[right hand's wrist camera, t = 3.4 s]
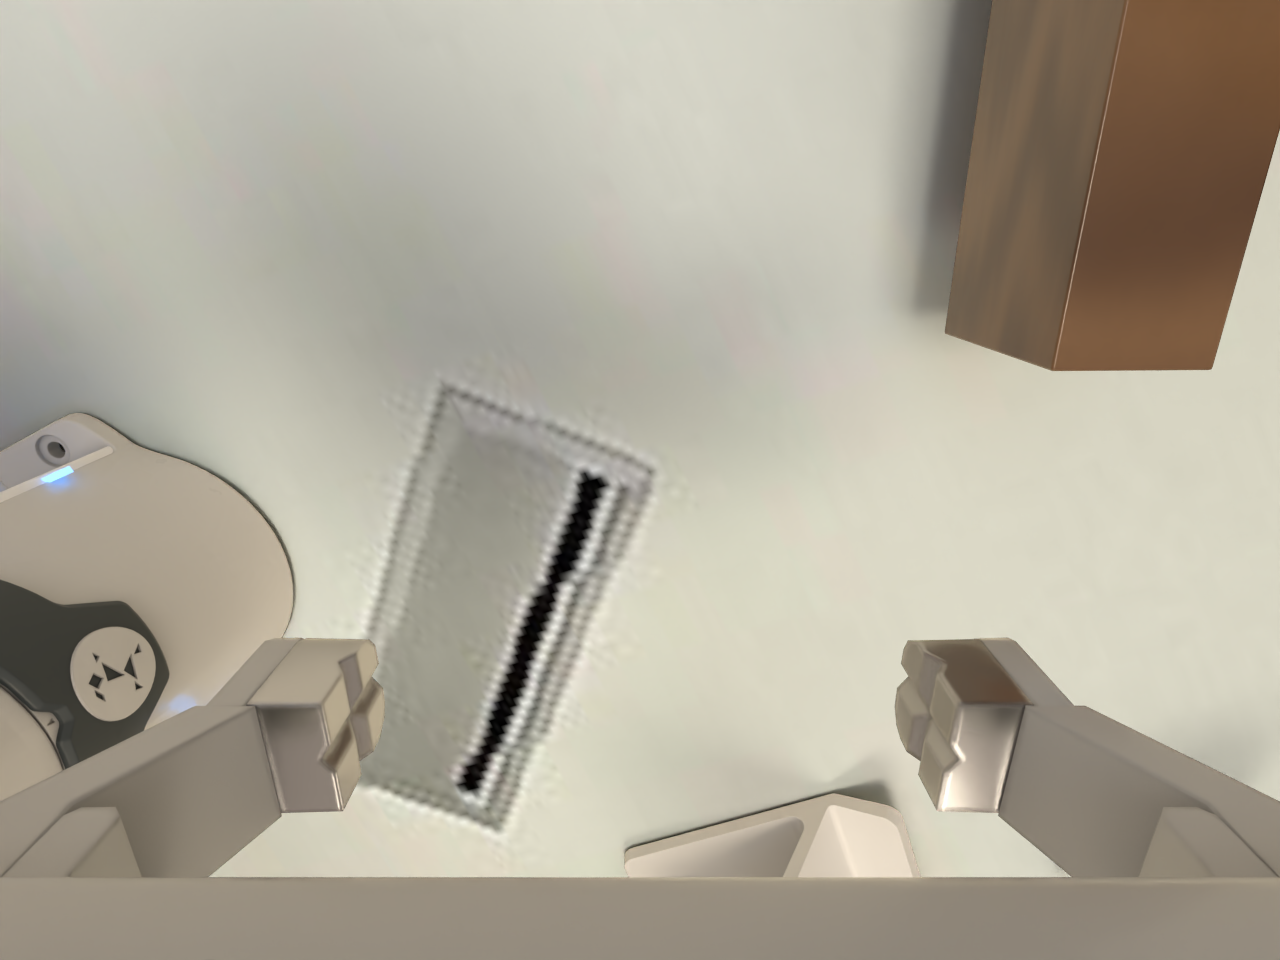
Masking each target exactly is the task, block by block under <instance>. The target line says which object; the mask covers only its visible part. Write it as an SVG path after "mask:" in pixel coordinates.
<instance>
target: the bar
mask: <svg viewBox="0 0 1280 960" xmlns="http://www.w3.org/2000/svg"><path fill="white" fill-rule="evenodd" d="M1279 130H1280V0H992V6H991V13H990V20H989V27H988V34H987V41H986V48H985V55H984V62H983V69H982V76H981V83H980V90H979V97H978V104H977V111H976V118H975V125H974V132H973V139H972V146H971V153H970V160H969V167H968V174H967V181H966V188H965V195H964V202H963V209H962V216H961V223H960V230H959V237H958V244H957V251H956V257H955V264H954V271H953V278H952V285H951V292H950V299H949V306H948V313H947V320H946V327H945V334H948V335H951V336H954V337H957V338H960V339H962V340H965V341H968V342H971V343H974V344H977V345H980V346H982V347H985V348H988V349H991V350H994V351H997V352H1000V353H1003V354H1005V355H1008V356H1011V357H1014V358H1017V359H1020V360H1023V361H1025V362H1028V363H1031V364H1034V365H1037V366H1040V367H1043V368H1046V369H1048V370H1051V371H1123V370H1210V369H1212V367H1213V363H1214V360H1215V356H1216V353H1217V349H1218V346H1219V342H1220V339H1221V335H1222V332H1223V328H1224V324H1225V321H1226V317H1227V314H1228V310H1229V307H1230V303H1231V300H1232V296H1233V293H1234V289H1235V286H1236V282H1237V278H1238V275H1239V271H1240V268H1241V264H1242V261H1243V257H1244V254H1245V250H1246V247H1247V243H1248V240H1249V236H1250V232H1251V229H1252V225H1253V222H1254V218H1255V215H1256V211H1257V208H1258V204H1259V201H1260V197H1261V194H1262V190H1263V186H1264V183H1265V179H1266V176H1267V172H1268V169H1269V165H1270V162H1271V158H1272V155H1273V151H1274V148H1275V144H1276V140H1277V137H1278V133H1279Z"/></svg>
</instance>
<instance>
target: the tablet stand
mask: <svg viewBox="0 0 1280 960" xmlns="http://www.w3.org/2000/svg"><path fill="white" fill-rule="evenodd" d="M625 871H626V873H627V875H628V877H921V876H920V873H919V870H918V866H917V863H916V860H915V856H914V853H913V850H912V846H911V843H910V840H909V836H908V833H907V830H906V826H905V823H904V820H903V817H902V815H901V813H900V812H899V811H898V810H896V809H895V808H893V807H891V806H889V805H885V804H881V803H876V802H872V801H867V800H862V799H858V798H853V797H849V796H844V795H840V794H835V793H832V794H829V795H825V796H821V797H818V798H814V799H810V800H807V801H803V802H799V803H795V804H792V805H788V806H784V807H781V808H777V809H773V810H770V811H766V812H762V813H759V814H755V815H751V816H748V817H744V818H740V819H737V820H733V821H729V822H726V823H722V824H718V825H714V826H711V827H707V828H703V829H700V830H696V831H692V832H689V833H685V834H681V835H678V836H674V837H670V838H667V839H663V840H659V841H656V842H652V843H648V844H644V845H641V846H637V847H633V848H631V849H629V850H628V851H627V852H626V853H625Z"/></svg>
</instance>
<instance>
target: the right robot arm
mask: <svg viewBox="0 0 1280 960" xmlns="http://www.w3.org/2000/svg"><path fill="white" fill-rule="evenodd" d="M59 444H61V445H62V446H63V447H64V449H65V452H64V451H63V450H62V449H61V448H60V446H59ZM292 607H293V582H292V576H291V571H290V567H289V564H288V560H287V558H286V555H285V553H284V550H283V548H282V546H281V544H280V542H279V540H278V538H277V537H276V535H275V533H274V532H273V530H272V529H271V527H270V526H269V524H268V523H267V522H266V520H265V519H264V518H263V517H262V515H261V514H260V513H259V512H258V511H257V510H256V509H255V507H254V506H253V505H252V504H251V503H250V502H249V501H248V500H247V499H245V498H244V497H243V496H242V495H241V494H240V493H239V492H237V491H236V490H235V489H234V488H232V487H231V486H230V485H228V484H227V483H225V482H224V481H222V480H221V479H219V478H218V477H216V476H214V475H213V474H211V473H209V472H207V471H205V470H203V469H201V468H199V467H197V466H195V465H193V464H191V463H188V462H186V461H183V460H180V459H177V458H174V457H171V456H167V455H164V454H161V453H157V452H154V451H151V450H148V449H145V448H143V447H140V446H138V445H136V444H134V443H133V442H131V441H130V440H128V439H127V438H126V437H124V436H123V435H121V434H120V433H119V432H117V431H116V430H114V429H113V428H111V427H110V426H108V425H107V424H105V423H103V422H102V421H100V420H98V419H96V418H94V417H92V416H90V415H87V414H83V413H73V414H69V415H67V416H65V417H63V418H61V419H59V420H57V421H55V422H53V423H51V424H49V425H47V426H46V427H44V428H42V429H40V430H38V431H37V432H35V433H33V434H31V435H29V436H27V437H26V438H24V439H22V440H20V441H18V442H17V443H15V444H13V445H11V446H9V447H8V448H6V449H4V450H2V451H0V960H1280V802H1279V801H1277V800H1275V799H1273V798H1271V797H1269V796H1267V795H1265V794H1263V793H1261V792H1259V791H1257V790H1255V789H1253V788H1251V787H1249V786H1247V785H1245V784H1243V783H1241V782H1239V781H1237V780H1235V779H1233V778H1231V777H1229V776H1227V775H1225V774H1223V773H1221V772H1219V771H1217V770H1214V769H1212V768H1210V767H1208V766H1206V765H1204V764H1202V763H1200V762H1198V761H1196V760H1194V759H1192V758H1190V757H1188V756H1186V755H1184V754H1182V753H1180V752H1178V751H1176V750H1174V749H1172V748H1170V747H1168V746H1166V745H1164V744H1162V743H1160V742H1158V741H1156V740H1154V739H1152V738H1149V737H1147V736H1145V735H1143V734H1141V733H1139V732H1137V731H1135V730H1133V729H1131V728H1129V727H1127V726H1125V725H1123V724H1121V723H1119V722H1117V721H1115V720H1113V719H1111V718H1109V717H1107V716H1105V715H1103V714H1101V713H1099V712H1097V711H1095V710H1093V709H1091V708H1089V707H1086V706H1074V705H1073V704H1072V703H1071V702H1070V701H1069V699H1068V698H1067V697H1066V696H1065V695H1064V694H1063V693H1062V692H1061V691H1060V690H1059V688H1058V687H1057V686H1056V685H1055V684H1054V683H1053V682H1052V681H1051V680H1050V679H1049V677H1048V676H1047V675H1046V674H1045V673H1044V672H1043V671H1042V670H1041V669H1040V668H1039V666H1038V665H1037V664H1036V663H1035V662H1034V661H1033V660H1032V659H1031V658H1030V657H1029V655H1028V654H1027V653H1026V652H1025V651H1024V650H1023V649H1022V648H1021V647H1020V646H1019V644H1018V643H1017V642H1016V641H1014V640H1012V639H1009V638H980V639H960V640H908V641H907V643H906V645H905V648H904V650H903V656H902V661H901V664H902V666H903V668H904V669H905V671H906V673H907V675H908V677H907V678H906V679H905V680H904V681H903V682H902V683H901V684H900V686H899V687H898V688H897V693H896V701H895V715H896V725H897V729H898V732H899V735H900V739H901V741H902V743H903V745H904V747H905V749H906V751H907V752H908V753H910V754H911V755H912V756H914V757H915V758H917V759H918V760H920V761H921V762H920V768H919V773H918V775H919V777H920V779H921V781H922V783H923V785H924V787H925V789H926V791H927V792H928V794H929V796H930V798H931V800H932V802H933V804H934V806H935V808H936V810H937V811H950V812H985V813H999V814H998V816H999V817H1000V818H1002V819H1003V820H1004V821H1005V822H1006V823H1008V824H1009V825H1010V826H1011V827H1012V828H1014V829H1015V830H1016V831H1017V832H1018V833H1020V834H1021V835H1022V836H1023V837H1024V838H1026V839H1027V840H1028V841H1029V842H1030V843H1032V844H1033V845H1034V846H1035V847H1036V848H1038V849H1039V850H1040V851H1041V852H1042V853H1044V854H1045V855H1046V856H1047V857H1048V858H1050V859H1051V860H1052V861H1053V862H1054V863H1056V864H1057V865H1058V866H1059V867H1060V868H1062V869H1063V870H1064V871H1065V872H1066V873H1068V874H1069V875H1070V876H1071V877H599V878H566V877H209V876H210V875H211V874H213V873H214V872H215V871H216V870H217V869H219V868H220V867H221V866H222V865H223V864H225V863H226V862H227V861H228V860H229V859H231V858H232V857H233V856H234V855H235V854H237V853H238V852H239V851H240V850H241V849H243V848H244V847H245V846H246V845H247V844H249V843H250V842H251V841H252V840H253V839H255V838H256V837H257V836H258V835H259V834H261V833H262V832H263V831H264V830H266V829H267V828H268V827H269V826H270V825H272V824H273V823H274V822H275V821H276V820H278V819H279V818H280V817H281V813H294V812H329V811H343V810H344V808H345V806H346V804H347V802H348V800H349V798H350V796H351V794H352V793H353V791H354V789H355V787H356V785H357V783H358V781H359V779H360V777H361V775H362V773H361V768H360V762H359V761H360V760H362V759H363V758H365V757H366V756H368V755H369V754H370V753H372V752H373V751H374V749H375V747H376V745H377V743H378V741H379V739H380V736H381V732H382V727H383V723H384V718H385V699H384V692H383V688H382V687H381V686H380V685H379V683H378V682H377V681H376V680H375V679H374V678H373V677H372V675H373V673H374V671H375V669H376V668H377V666H378V664H379V661H378V656H377V652H376V647H375V644H374V643H372V642H371V641H370V640H369V639H322V638H306V639H303V638H282V636H283V635H284V633H285V631H286V628H287V626H288V623H289V620H290V617H291V613H292Z"/></svg>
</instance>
